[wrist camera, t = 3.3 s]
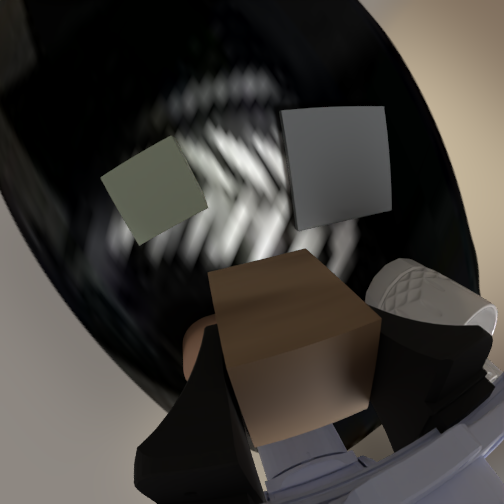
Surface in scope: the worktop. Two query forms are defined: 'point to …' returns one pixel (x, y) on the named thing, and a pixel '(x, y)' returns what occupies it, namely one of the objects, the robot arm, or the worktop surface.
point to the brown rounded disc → (194, 342)
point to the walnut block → (294, 344)
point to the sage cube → (155, 190)
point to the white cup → (428, 297)
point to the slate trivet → (336, 163)
